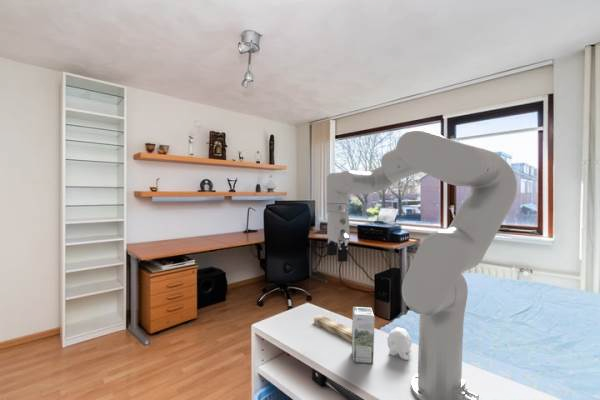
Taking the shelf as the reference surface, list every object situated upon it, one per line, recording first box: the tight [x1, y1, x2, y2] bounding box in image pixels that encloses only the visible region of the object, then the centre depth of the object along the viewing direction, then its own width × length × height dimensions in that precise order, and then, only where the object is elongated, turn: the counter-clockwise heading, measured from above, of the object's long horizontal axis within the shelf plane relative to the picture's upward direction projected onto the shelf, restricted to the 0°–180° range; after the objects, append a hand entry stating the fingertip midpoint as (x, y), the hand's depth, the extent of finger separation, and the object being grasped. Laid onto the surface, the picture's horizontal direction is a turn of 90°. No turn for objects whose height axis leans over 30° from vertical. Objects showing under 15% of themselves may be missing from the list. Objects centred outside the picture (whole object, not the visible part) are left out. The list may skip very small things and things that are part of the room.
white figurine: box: [386, 326, 412, 361], centre depth 85 cm, size 6×8×12 cm
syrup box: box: [351, 306, 375, 365], centre depth 82 cm, size 6×6×14 cm
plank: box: [313, 314, 352, 343], centre depth 97 cm, size 22×4×2 cm, turn 42°
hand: (337, 258), depth 95 cm, fingers open, 9 cm apart
